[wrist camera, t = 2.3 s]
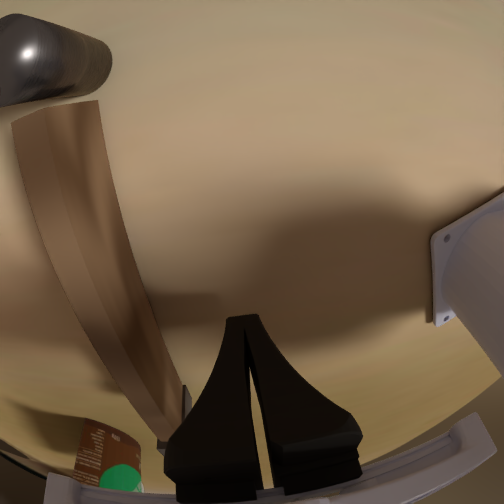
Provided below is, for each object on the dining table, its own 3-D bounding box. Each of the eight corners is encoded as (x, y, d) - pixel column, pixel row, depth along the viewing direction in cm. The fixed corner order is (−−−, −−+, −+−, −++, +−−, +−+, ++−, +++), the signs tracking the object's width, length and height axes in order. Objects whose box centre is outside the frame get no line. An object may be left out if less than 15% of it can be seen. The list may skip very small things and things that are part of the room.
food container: (151, 467, 26) (150, 541, 17) (99, 457, 24) (92, 530, 16) (154, 425, 20) (151, 536, 12) (82, 410, 19) (64, 516, 10)
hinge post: (98, 27, 8) (21, -5, 3) (122, 72, 9) (50, 61, 4) (51, 63, 8) (-40, 62, 3) (73, 107, 9) (-15, 129, 4)
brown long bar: (66, 110, 9) (-5, 128, 5) (102, 98, 9) (39, 107, 5) (168, 399, 18) (165, 458, 14) (191, 398, 18) (192, 458, 14)
